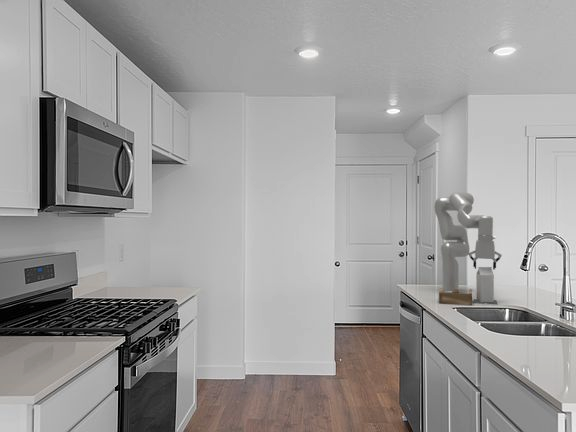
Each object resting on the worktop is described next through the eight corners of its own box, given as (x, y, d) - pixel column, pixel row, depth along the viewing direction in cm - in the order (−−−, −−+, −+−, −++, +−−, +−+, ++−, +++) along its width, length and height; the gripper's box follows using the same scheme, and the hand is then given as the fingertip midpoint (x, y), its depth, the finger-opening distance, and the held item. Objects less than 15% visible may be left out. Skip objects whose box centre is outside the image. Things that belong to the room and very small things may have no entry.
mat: (473, 299, 287) (473, 299, 287) (496, 300, 283) (496, 300, 283) (473, 303, 275) (473, 302, 275) (497, 304, 271) (497, 303, 271)
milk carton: (493, 302, 276) (493, 267, 276) (480, 302, 276) (480, 267, 276) (489, 300, 283) (489, 266, 283) (476, 300, 283) (476, 266, 283)
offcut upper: (451, 296, 282) (451, 291, 282) (452, 294, 291) (452, 289, 291) (459, 297, 280) (459, 292, 280) (459, 294, 290) (459, 289, 290)
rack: (440, 298, 291) (440, 288, 291) (471, 300, 285) (471, 289, 285) (439, 303, 275) (438, 292, 275) (472, 305, 269) (472, 294, 269)
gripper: (501, 238, 280) (500, 268, 280) (468, 237, 286) (468, 267, 286) (502, 239, 273) (501, 270, 273) (468, 238, 279) (468, 268, 279)
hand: (484, 268), depth 280 cm, fingers open, 9 cm apart
